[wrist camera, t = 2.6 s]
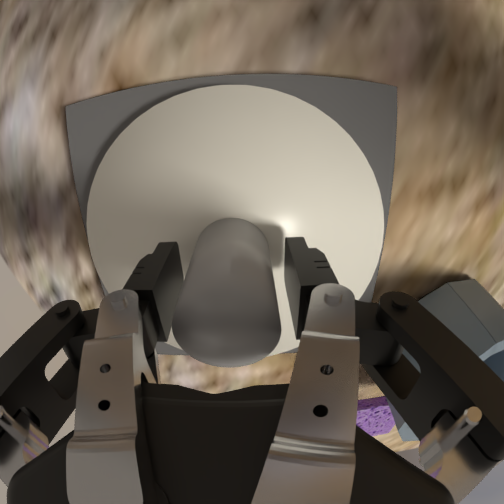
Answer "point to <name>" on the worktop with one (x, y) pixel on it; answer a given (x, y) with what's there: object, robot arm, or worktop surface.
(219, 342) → the lid
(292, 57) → the worktop surface
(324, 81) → the mat
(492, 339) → the bowl
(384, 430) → the sponges
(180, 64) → the worktop surface
